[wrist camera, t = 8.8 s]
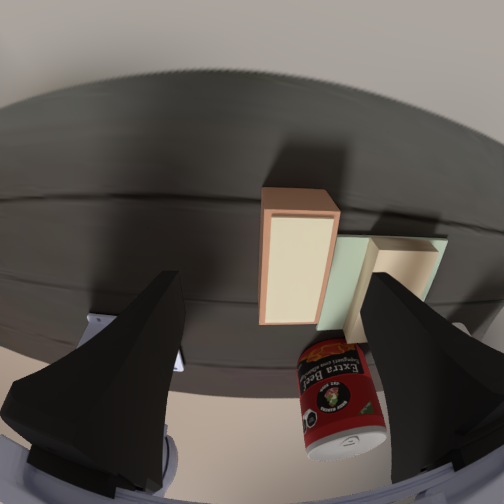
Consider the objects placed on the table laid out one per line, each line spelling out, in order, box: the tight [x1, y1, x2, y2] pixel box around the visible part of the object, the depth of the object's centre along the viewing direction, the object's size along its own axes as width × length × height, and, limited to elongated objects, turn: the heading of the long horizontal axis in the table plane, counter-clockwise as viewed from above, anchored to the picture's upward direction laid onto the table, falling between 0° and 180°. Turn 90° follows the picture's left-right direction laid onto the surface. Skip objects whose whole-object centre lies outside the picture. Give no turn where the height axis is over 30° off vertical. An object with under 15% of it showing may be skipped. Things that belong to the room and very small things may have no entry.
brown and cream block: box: [258, 187, 340, 325], centre depth 20 cm, size 4×9×4 cm, turn 179°
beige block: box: [343, 236, 439, 344], centre depth 22 cm, size 6×10×2 cm, turn 178°
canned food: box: [296, 339, 387, 461], centre depth 24 cm, size 8×8×11 cm
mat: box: [316, 234, 448, 330], centre depth 23 cm, size 11×10×1 cm
